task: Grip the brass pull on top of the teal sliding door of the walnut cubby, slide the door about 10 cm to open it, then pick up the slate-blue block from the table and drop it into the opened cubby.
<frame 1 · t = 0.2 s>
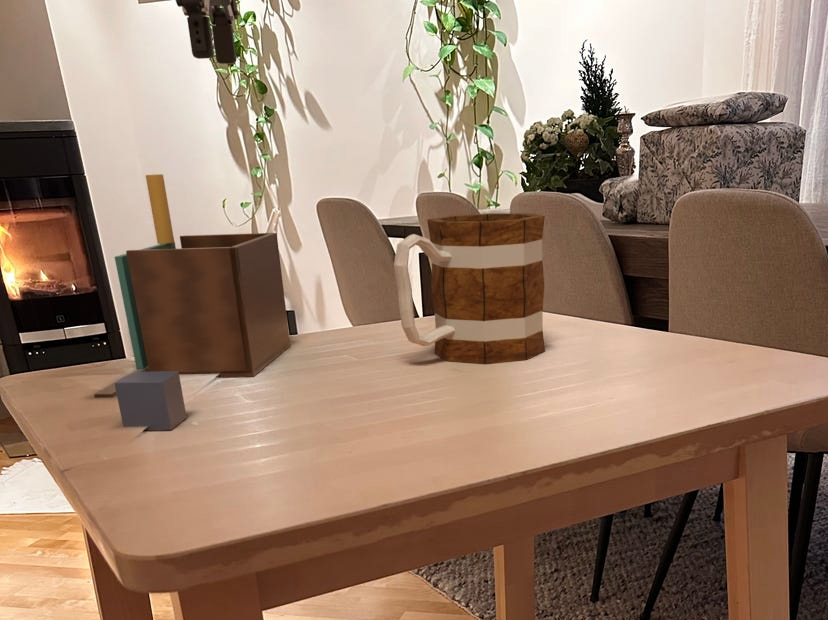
hand: (215, 60, 106), 32 cm above the table, tool pointing down, fingers open, 8 cm apart
cubby: (225, 361, 116), on the table
block: (156, 424, 90), on the table
mug: (470, 357, 114), on the table
sliding door: (150, 269, 111), point 11 cm above the table, slide at 0.0 cm
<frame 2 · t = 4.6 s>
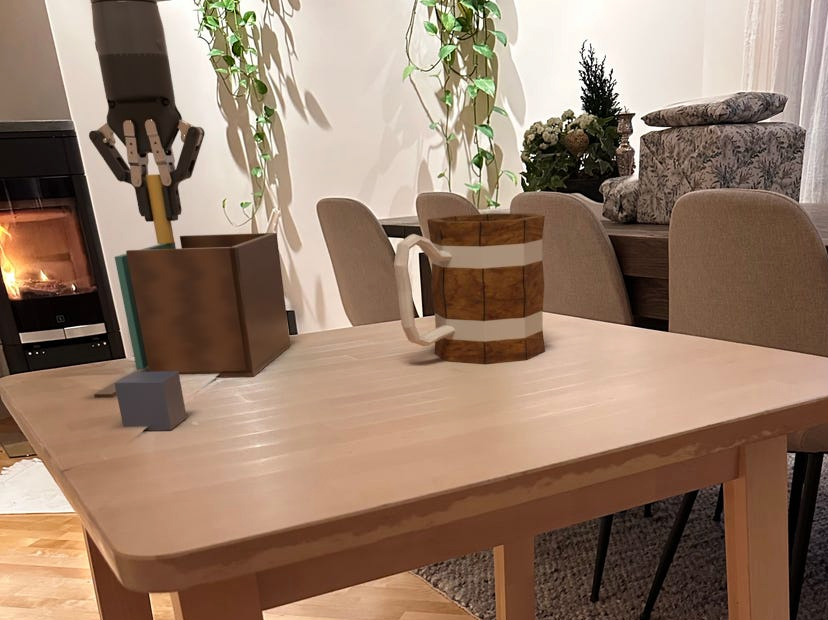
hand: (161, 220, 114), 16 cm above the table, tool pointing down, fingers closed on sliding door, 2 cm apart
sliding door: (150, 269, 111), point 11 cm above the table, slide at 0.0 cm, touching gripper
everything else where it was.
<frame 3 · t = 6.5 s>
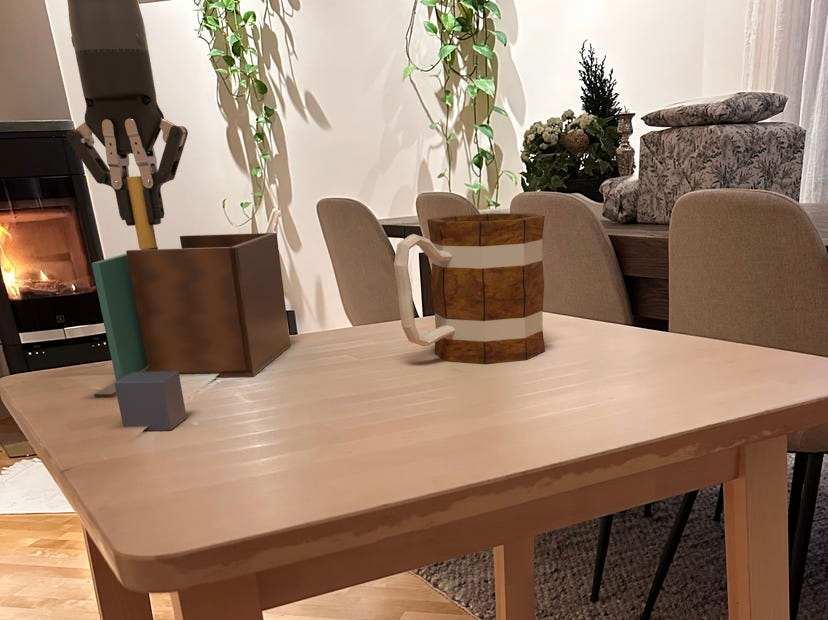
hand: (143, 224, 109), 16 cm above the table, tool pointing down, fingers closed on sliding door, 2 cm apart
sliding door: (131, 275, 106), point 11 cm above the table, slide at 6.0 cm, touching gripper
everything else where it was.
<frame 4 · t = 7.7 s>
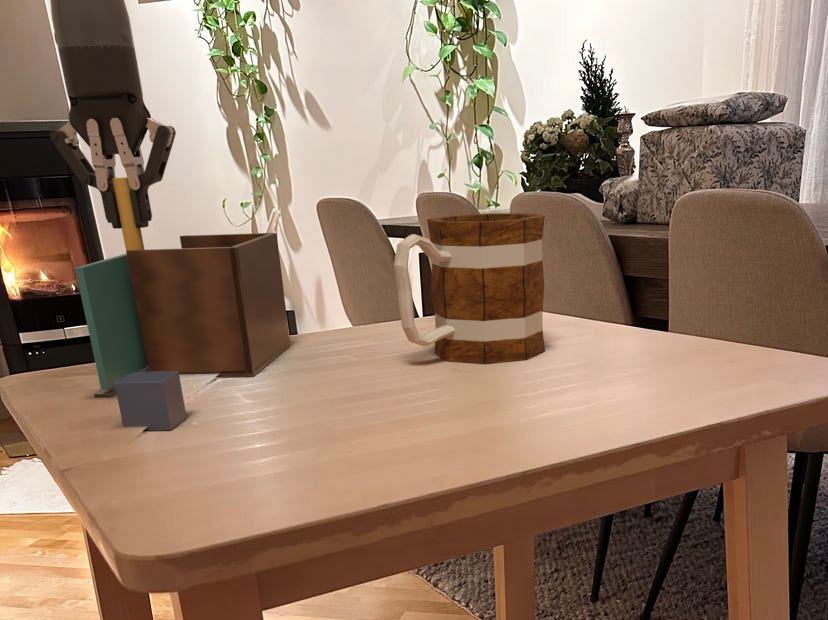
hand: (130, 226, 106), 16 cm above the table, tool pointing down, fingers closed on sliding door, 2 cm apart
sliding door: (117, 280, 102), point 11 cm above the table, slide at 9.9 cm, touching gripper
everything else where it was.
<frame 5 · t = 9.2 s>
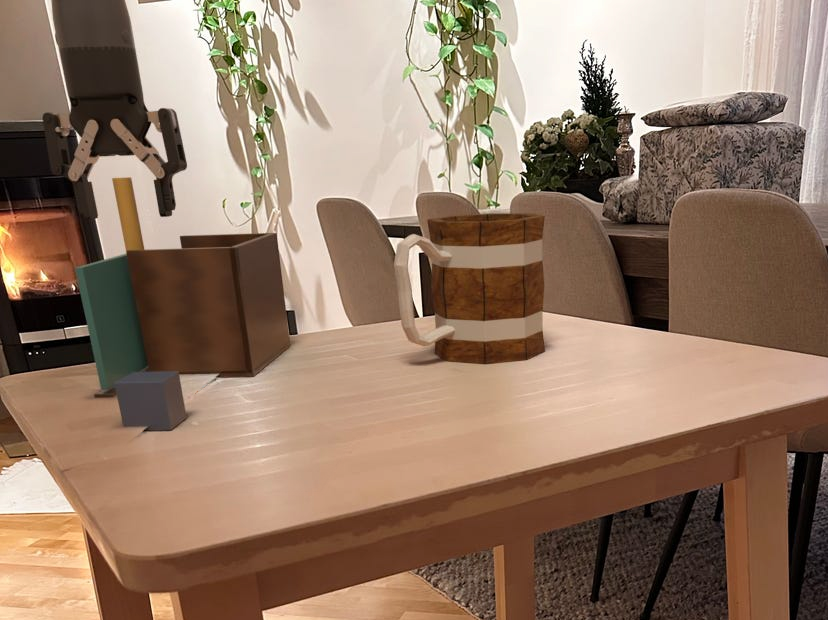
hand: (128, 217, 105), 17 cm above the table, tool pointing down, fingers open, 8 cm apart
sliding door: (117, 280, 102), point 11 cm above the table, slide at 9.9 cm
everything else where it was.
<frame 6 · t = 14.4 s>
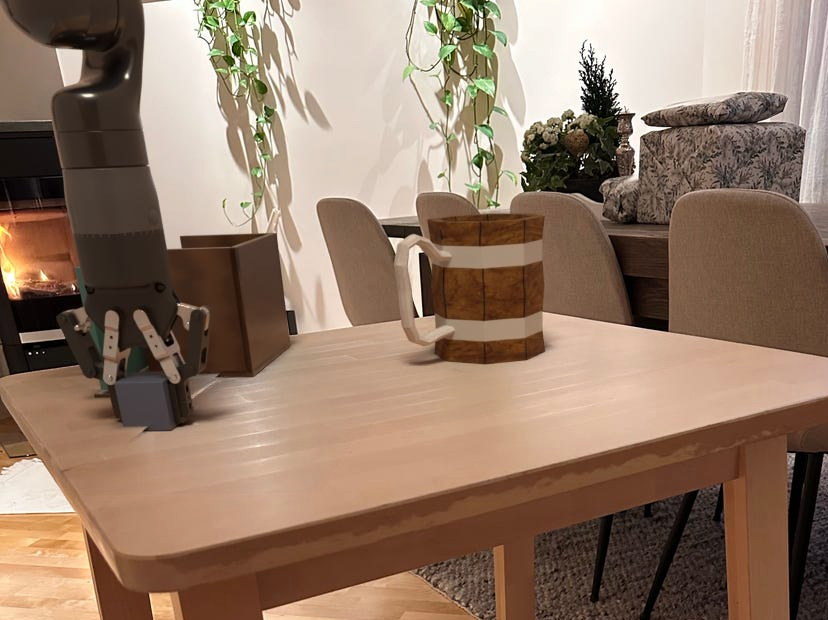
hand: (155, 421, 90), 0 cm above the table, tool pointing down, fingers closed on block, 4 cm apart
block: (156, 424, 90), on the table, touching gripper
everything else where it was.
when the fingers open (12 cm above the table, at t = 22.3 s): block drops 11 cm, resting on cubby.
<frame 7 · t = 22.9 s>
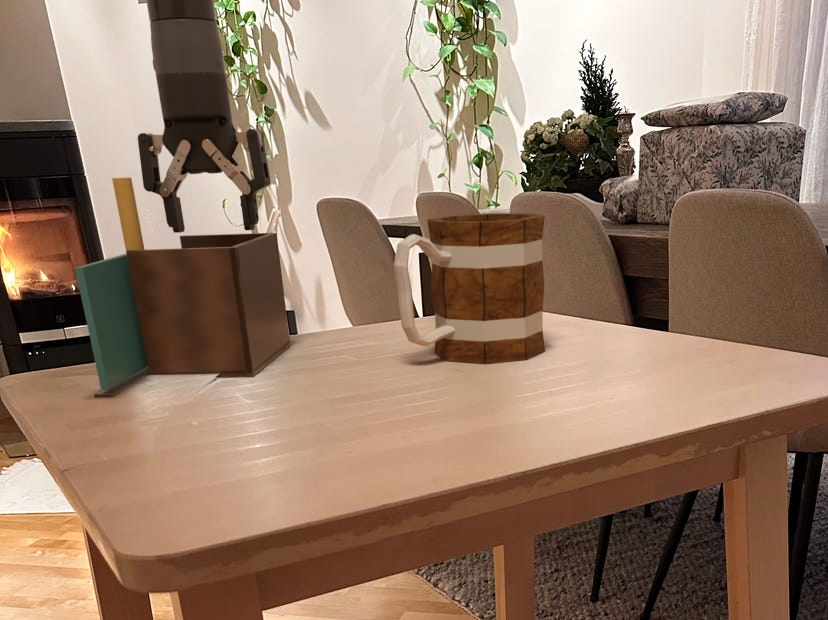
hand: (214, 231, 112), 14 cm above the table, tool pointing down, fingers open, 8 cm apart
block: (232, 349, 118), point 1 cm above the table, touching cubby
everything else where it was.
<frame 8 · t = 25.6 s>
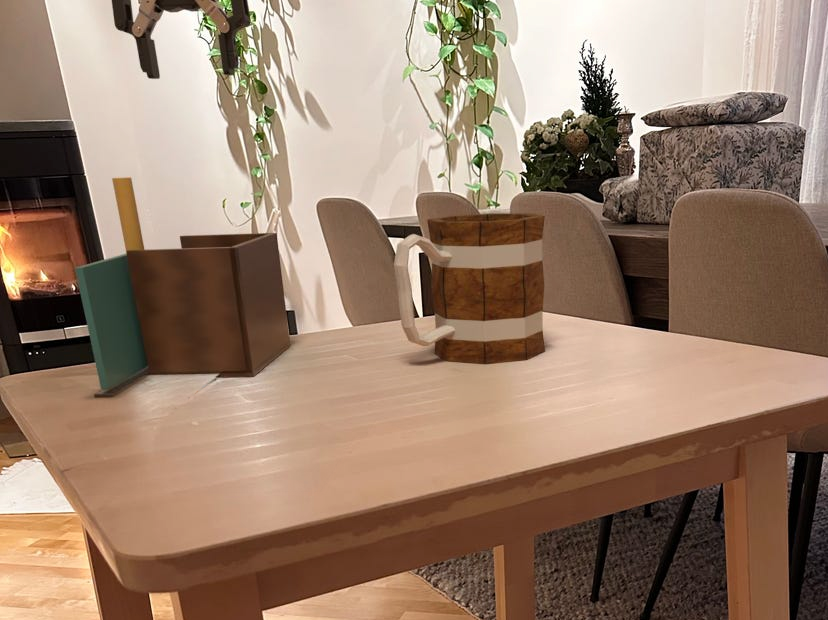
hand: (191, 76, 105), 30 cm above the table, tool pointing down, fingers open, 8 cm apart
nothing on the table moved.
at the end: sliding door slide at 9.9 cm; block inside the target area on the cubby (3.5 cm from its centre), point 0.8 cm above the cubby's base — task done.
